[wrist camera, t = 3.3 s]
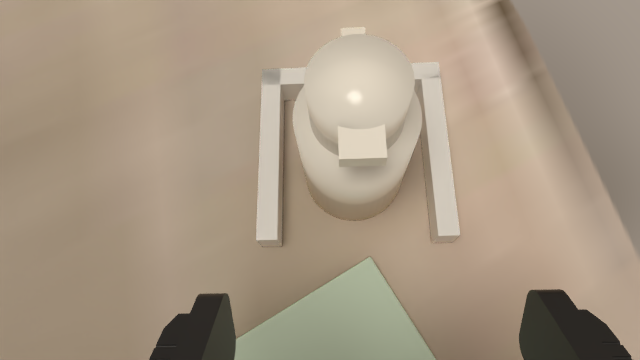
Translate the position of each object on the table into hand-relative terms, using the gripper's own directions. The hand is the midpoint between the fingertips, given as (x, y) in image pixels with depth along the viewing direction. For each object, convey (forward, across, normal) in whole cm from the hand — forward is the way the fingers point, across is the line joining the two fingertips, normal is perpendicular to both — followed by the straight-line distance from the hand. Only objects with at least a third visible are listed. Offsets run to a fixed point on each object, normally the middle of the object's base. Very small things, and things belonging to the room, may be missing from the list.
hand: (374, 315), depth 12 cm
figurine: (+16, 0, +3) cm, 16 cm away
